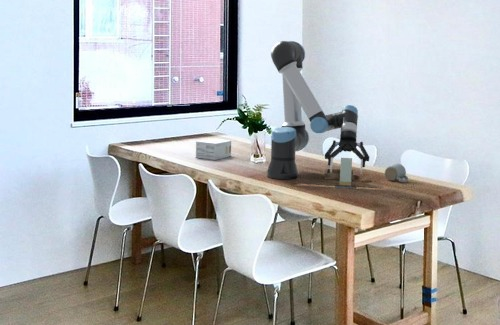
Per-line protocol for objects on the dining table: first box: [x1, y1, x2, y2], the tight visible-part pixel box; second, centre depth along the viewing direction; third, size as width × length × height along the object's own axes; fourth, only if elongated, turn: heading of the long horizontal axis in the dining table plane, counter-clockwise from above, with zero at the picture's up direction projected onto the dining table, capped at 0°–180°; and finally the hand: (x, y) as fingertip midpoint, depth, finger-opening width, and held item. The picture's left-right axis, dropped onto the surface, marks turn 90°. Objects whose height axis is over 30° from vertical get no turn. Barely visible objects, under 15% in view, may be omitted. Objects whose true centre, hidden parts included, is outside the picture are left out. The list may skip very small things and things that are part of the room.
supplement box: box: [195, 138, 232, 161], centre depth 381 cm, size 17×13×9 cm
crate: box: [323, 168, 356, 181], centre depth 326 cm, size 14×14×4 cm
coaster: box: [334, 184, 356, 190], centre depth 309 cm, size 9×9×1 cm
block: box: [338, 157, 353, 186], centre depth 308 cm, size 5×5×12 cm
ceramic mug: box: [384, 163, 409, 183], centre depth 325 cm, size 11×8×8 cm
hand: (345, 171), depth 307 cm, fingers open, 13 cm apart
